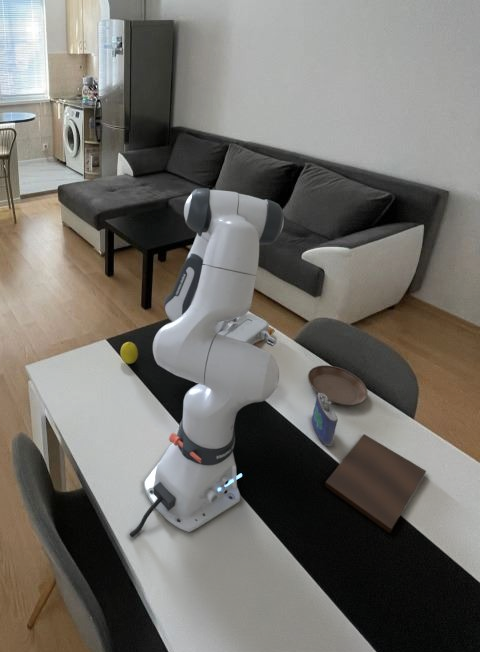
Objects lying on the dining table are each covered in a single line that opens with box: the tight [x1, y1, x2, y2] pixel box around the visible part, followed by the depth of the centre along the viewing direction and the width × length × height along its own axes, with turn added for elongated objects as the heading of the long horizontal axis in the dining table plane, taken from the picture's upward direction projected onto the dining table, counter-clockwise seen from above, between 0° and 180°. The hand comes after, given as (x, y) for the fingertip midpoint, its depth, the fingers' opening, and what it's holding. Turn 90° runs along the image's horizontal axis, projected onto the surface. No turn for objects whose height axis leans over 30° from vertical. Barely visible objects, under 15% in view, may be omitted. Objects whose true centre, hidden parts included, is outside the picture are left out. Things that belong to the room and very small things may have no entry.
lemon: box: [120, 341, 139, 365], centre depth 137 cm, size 6×6×8 cm
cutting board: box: [324, 433, 427, 534], centre depth 97 cm, size 20×13×2 cm, turn 127°
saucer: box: [307, 364, 369, 407], centre depth 122 cm, size 15×15×3 cm
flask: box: [311, 393, 339, 448], centre depth 108 cm, size 9×3×11 cm, turn 172°
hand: (265, 350), depth 118 cm, fingers open, 8 cm apart
